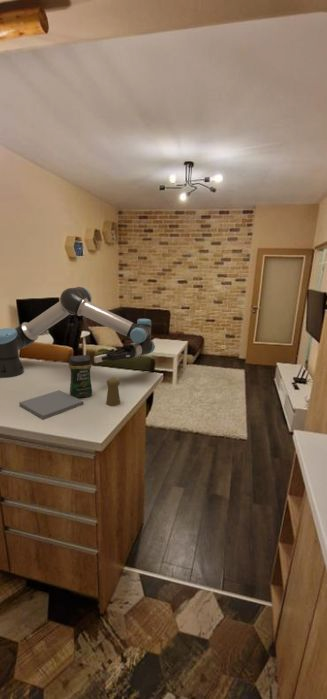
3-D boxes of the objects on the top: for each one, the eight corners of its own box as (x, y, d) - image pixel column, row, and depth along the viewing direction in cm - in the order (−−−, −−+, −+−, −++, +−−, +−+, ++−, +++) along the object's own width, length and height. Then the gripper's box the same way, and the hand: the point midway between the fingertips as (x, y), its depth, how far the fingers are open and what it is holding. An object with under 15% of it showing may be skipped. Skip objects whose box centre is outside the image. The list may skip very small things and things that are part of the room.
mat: (19, 405, 127) (19, 402, 127) (59, 393, 141) (59, 390, 141) (43, 419, 116) (42, 415, 116) (83, 404, 130) (83, 401, 130)
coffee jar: (72, 400, 134) (70, 359, 130) (68, 393, 141) (66, 354, 137) (94, 396, 139) (93, 357, 134) (89, 390, 145) (88, 352, 141)
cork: (106, 400, 135) (106, 376, 133) (120, 400, 136) (120, 376, 133) (105, 406, 129) (105, 381, 127) (120, 405, 130) (119, 381, 127)
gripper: (140, 360, 157) (104, 370, 139) (122, 355, 165) (86, 364, 147) (140, 346, 155) (104, 354, 138) (122, 341, 163) (86, 349, 145)
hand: (95, 359), depth 142 cm, fingers closed
